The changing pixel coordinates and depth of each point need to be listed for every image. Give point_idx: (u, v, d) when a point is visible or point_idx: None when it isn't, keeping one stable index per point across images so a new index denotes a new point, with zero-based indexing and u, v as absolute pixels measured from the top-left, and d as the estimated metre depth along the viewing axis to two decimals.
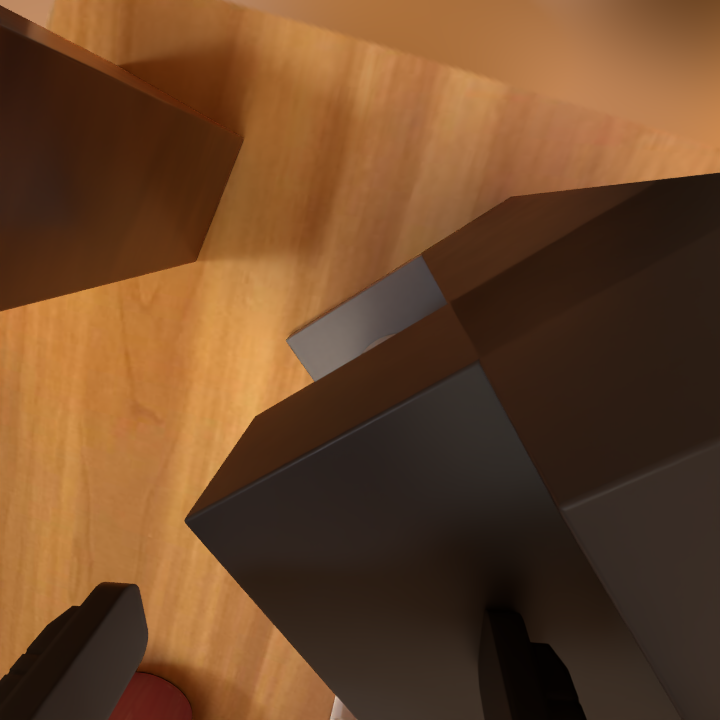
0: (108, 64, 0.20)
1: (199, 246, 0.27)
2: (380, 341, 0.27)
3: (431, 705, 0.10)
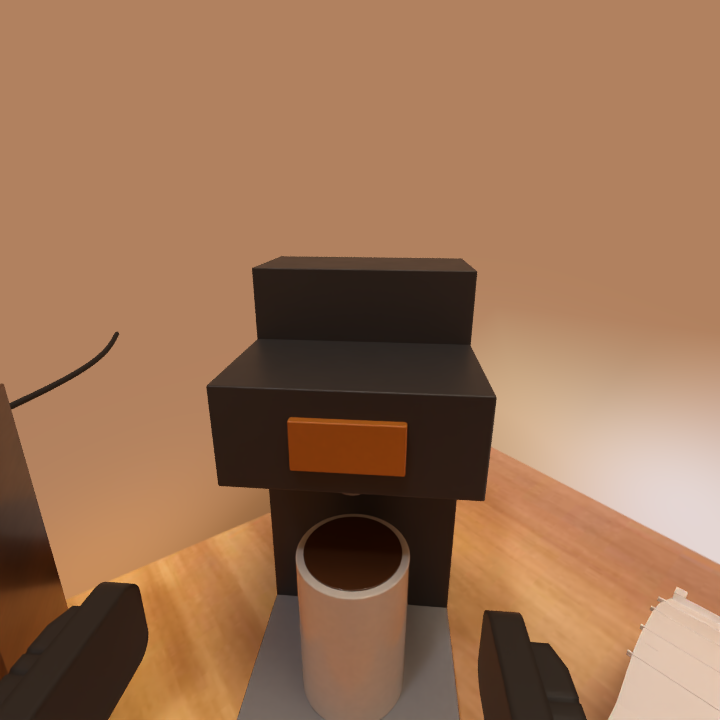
0: None
1: None
2: None
3: (379, 374, 0.20)
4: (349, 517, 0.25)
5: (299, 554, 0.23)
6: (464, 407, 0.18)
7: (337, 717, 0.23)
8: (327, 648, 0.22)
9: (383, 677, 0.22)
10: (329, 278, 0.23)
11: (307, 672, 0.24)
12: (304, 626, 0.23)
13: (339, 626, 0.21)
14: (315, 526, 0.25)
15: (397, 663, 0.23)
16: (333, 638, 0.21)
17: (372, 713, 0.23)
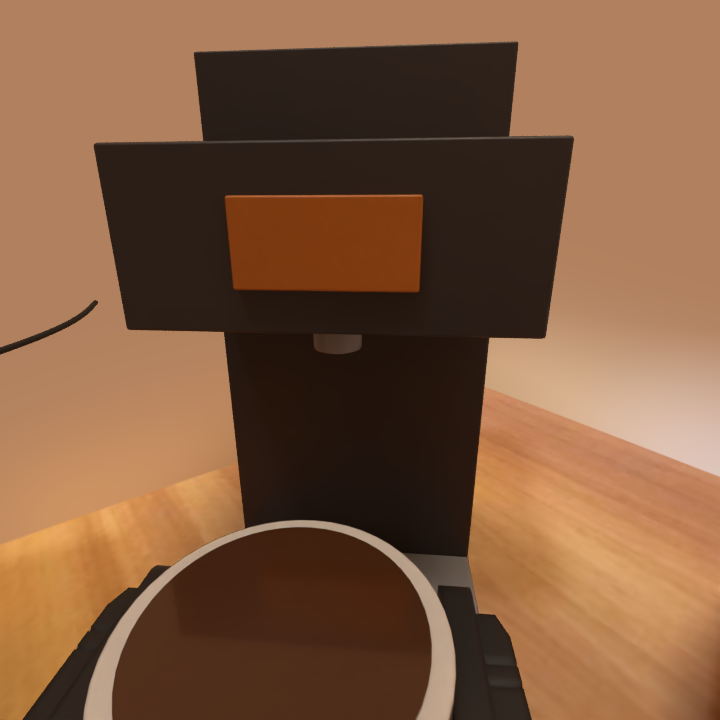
0: None
1: None
2: None
3: None
4: (291, 529, 0.10)
5: (113, 647, 0.07)
6: (519, 160, 0.10)
7: None
8: None
9: None
10: (304, 64, 0.16)
11: None
12: None
13: None
14: (195, 554, 0.09)
15: None
16: None
17: None
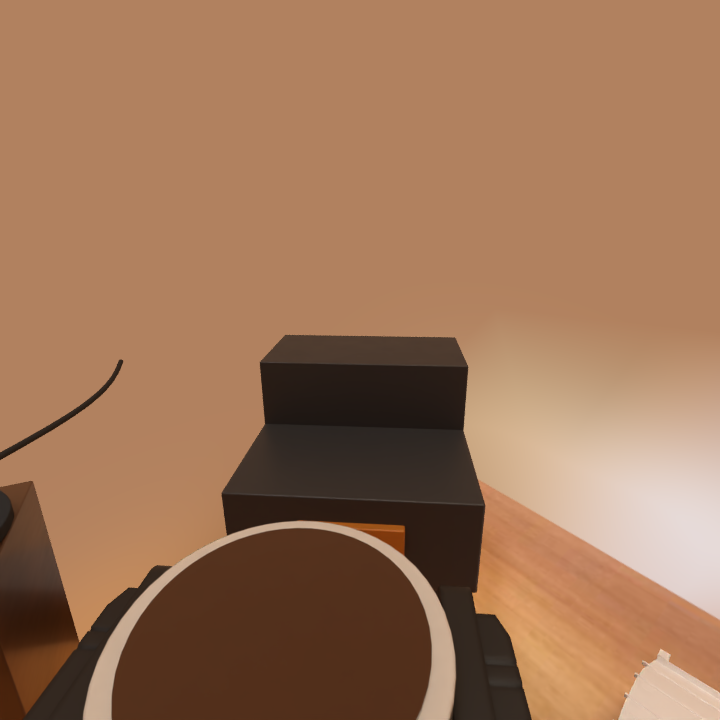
0: None
1: None
2: None
3: (378, 475, 0.21)
4: (291, 530, 0.10)
5: (113, 649, 0.07)
6: (457, 514, 0.19)
7: None
8: None
9: None
10: (331, 372, 0.25)
11: None
12: None
13: None
14: (195, 555, 0.09)
15: None
16: None
17: None
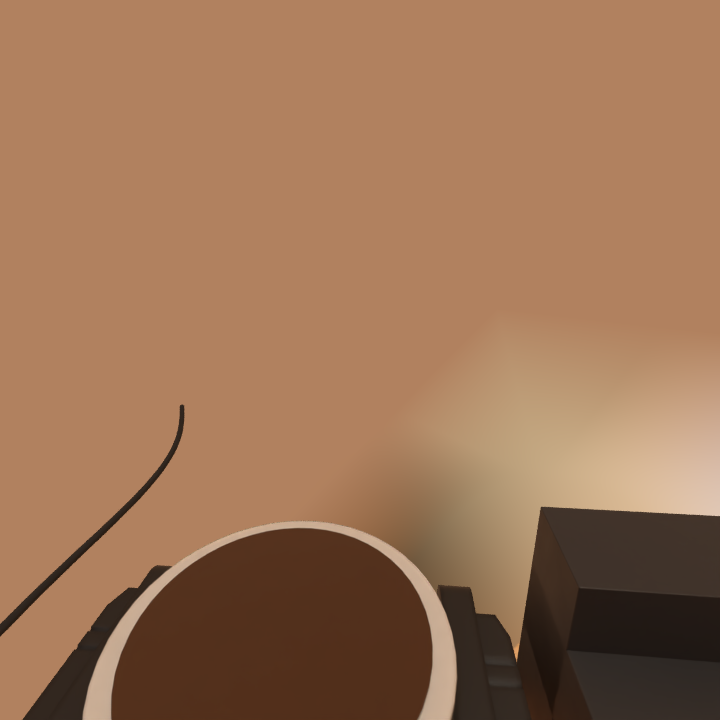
0: None
1: None
2: None
3: None
4: (291, 530, 0.10)
5: (112, 649, 0.07)
6: None
7: None
8: None
9: None
10: (672, 603, 0.20)
11: None
12: None
13: None
14: (195, 555, 0.09)
15: None
16: None
17: None
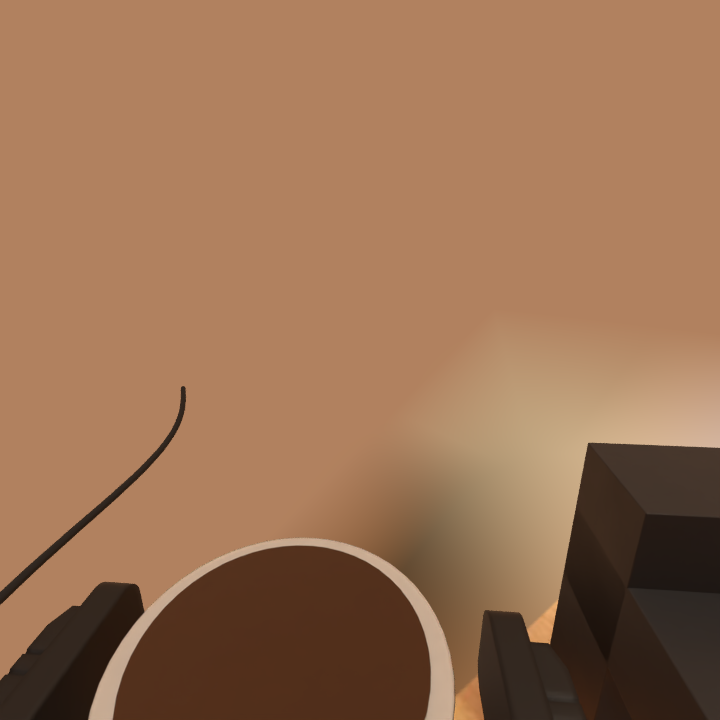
0: None
1: None
2: None
3: None
4: (291, 548, 0.10)
5: (114, 671, 0.07)
6: None
7: None
8: None
9: None
10: None
11: None
12: None
13: None
14: (196, 573, 0.09)
15: None
16: None
17: None
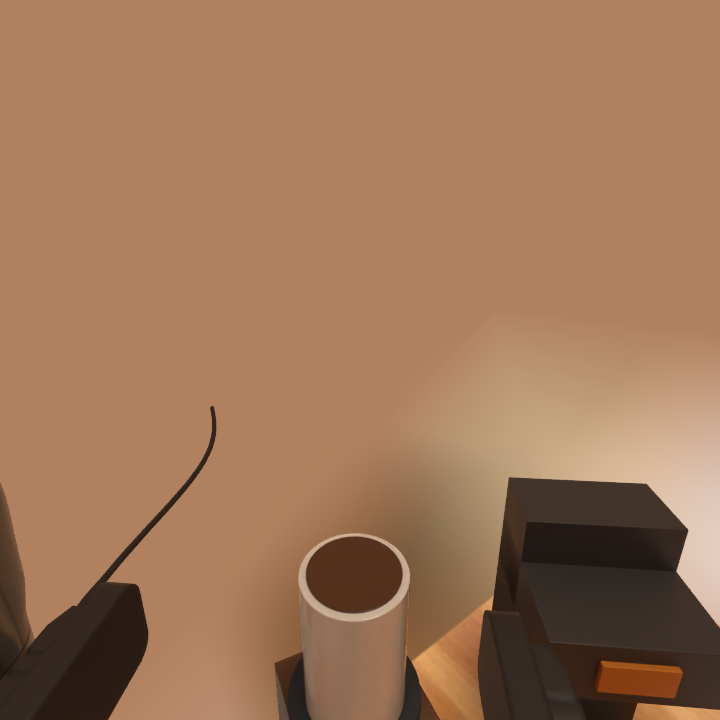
0: None
1: None
2: None
3: (647, 623, 0.30)
4: (351, 537, 0.26)
5: (301, 575, 0.23)
6: None
7: None
8: (329, 668, 0.22)
9: (384, 696, 0.23)
10: (582, 529, 0.34)
11: (310, 691, 0.24)
12: (307, 646, 0.23)
13: (341, 648, 0.21)
14: (317, 546, 0.25)
15: (398, 682, 0.24)
16: (335, 659, 0.22)
17: None
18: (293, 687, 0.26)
